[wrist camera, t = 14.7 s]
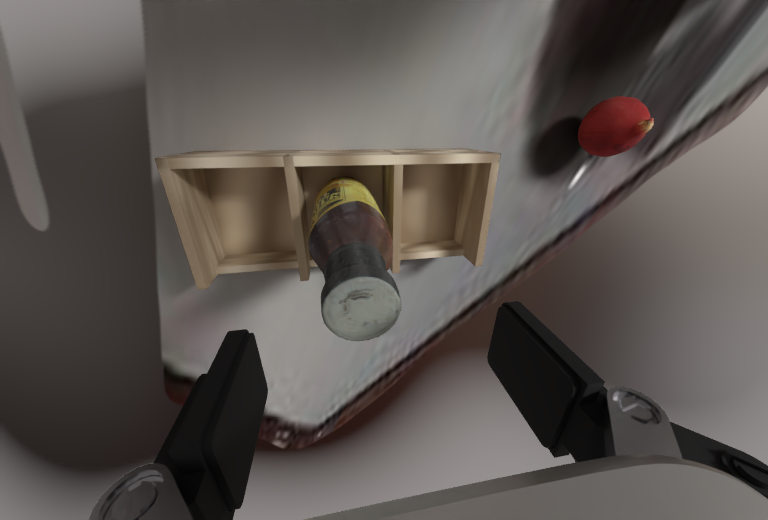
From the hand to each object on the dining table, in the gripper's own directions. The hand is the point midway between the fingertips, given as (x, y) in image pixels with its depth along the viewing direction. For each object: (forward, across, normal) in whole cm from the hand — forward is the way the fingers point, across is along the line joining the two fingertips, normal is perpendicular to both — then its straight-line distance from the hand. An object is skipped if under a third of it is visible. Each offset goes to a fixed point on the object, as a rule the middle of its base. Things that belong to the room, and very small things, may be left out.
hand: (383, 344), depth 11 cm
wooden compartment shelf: (+24, 0, +1) cm, 24 cm away
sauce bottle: (+23, +1, 0) cm, 23 cm away
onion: (+25, -29, -7) cm, 38 cm away
